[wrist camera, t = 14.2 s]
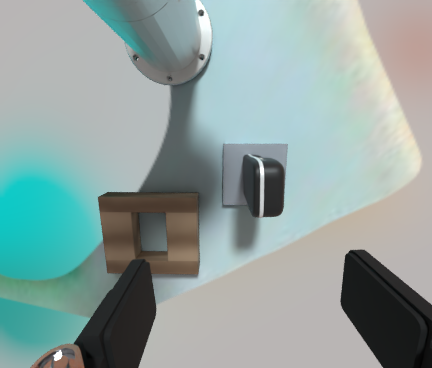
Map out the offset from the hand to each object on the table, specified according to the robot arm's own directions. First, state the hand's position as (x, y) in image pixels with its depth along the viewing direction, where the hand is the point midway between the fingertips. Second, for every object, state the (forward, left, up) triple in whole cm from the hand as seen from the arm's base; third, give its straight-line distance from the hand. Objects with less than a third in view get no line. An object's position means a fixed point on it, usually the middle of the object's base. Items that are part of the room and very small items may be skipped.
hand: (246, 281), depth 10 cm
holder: (+10, -13, -26) cm, 31 cm away
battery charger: (0, +4, -26) cm, 26 cm away
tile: (0, +4, -26) cm, 27 cm away
